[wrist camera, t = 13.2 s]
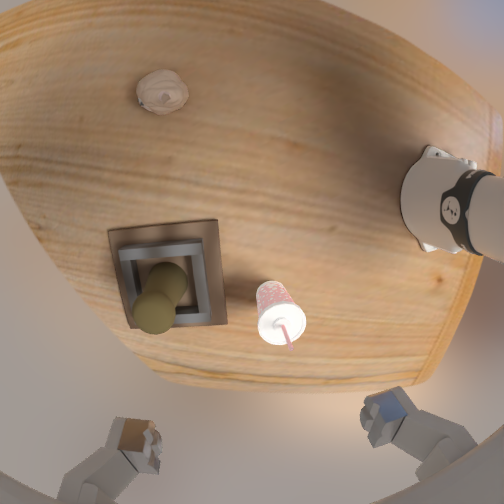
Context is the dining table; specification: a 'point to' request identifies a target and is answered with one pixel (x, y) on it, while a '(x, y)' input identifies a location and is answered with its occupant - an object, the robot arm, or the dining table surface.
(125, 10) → the dining table surface
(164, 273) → the olive pawn peg
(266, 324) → the beverage cup
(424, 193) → the robot arm
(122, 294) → the socket base
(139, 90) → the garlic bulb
